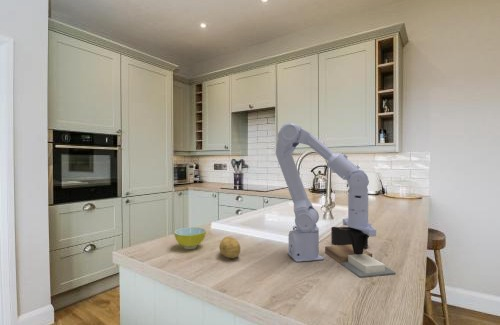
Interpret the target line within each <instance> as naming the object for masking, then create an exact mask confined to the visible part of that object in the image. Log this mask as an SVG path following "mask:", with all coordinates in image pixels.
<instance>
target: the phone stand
mask: <svg viewBox="0 0 500 325" xmlns="http://www.w3.org/2000/svg"><path fill="white" fill-rule="evenodd" d="M350 229H351V227H349V226H339V227H338V226H331V229H330V230H331V231H330V232H331V233H330V234H331V235H330V237H331V238H330V239H331V244H332V245H333V246H339V245H352V243H351V240H350V237H349V235H348V234H347V230H350ZM368 239H369V238H368ZM368 239H367V241H366V244H365V247H364V250H368V249H369V246H368V245H369V240H368Z"/></svg>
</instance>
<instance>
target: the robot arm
mask: <svg viewBox="0 0 500 325" xmlns="http://www.w3.org/2000/svg"><path fill="white" fill-rule="evenodd" d="M299 144H302V145H306V146H309V147H310V148H311V149H312V150H314V151H315V153H317V154H318V155H320V156H321V157H322V158H323V159H325V160H326V161H327V167H328V168H329V169H330V170H332V172H333V173H335V175H337V176H338V177H339V178H340V179H342V180H343V181H344V180H345V181H346V182H347V185H348V192H349V193H348V194H347V201H348V202H347V203H348V204H347V208H348V210H347V213H348V214H347V218H343V219H342V226H346V227H351V229H350V230H347V234H348V235H349V237H350V240H351V243H352V247H353V251H354V253H355V254H356V255H359V254H363V250H365V249H364V247H365V244H366V241H367V239H369V238H372V237H377V229H376V228H374V227H372V223H371V222H369V195H368V192H369V190H368V186H369V183H370V180H369V177H368V175H367V173H366V172H365V171H364V170H362V169H360V168H361V167H360V166H359V165H357V164H354V163H353V162H352V161H351V160H349V159H348V157H349V156H348V155H346V154H343V153H341V152H336V153H335V152H334V151H332V150H331V149H330V148H329V147H327V145H326V144H324V143H323V142H322V141H321V140H320V139H319V138H317V137H316V136H315V135H314V134H312V133H311V132H309V131H307V130H306V129H304V128H303V127H302V126H300V125H297V124H296V123H294V122H287V123H284V124H283V125H282V126H281V128H280V129H279V132H277V143H276V149H275V156H276V158H277V162H278V164H279V166H280V169H281V172H282V175H283V177H284V180H285V184H286V186H287V189H288V192H289V195H290V197H291V200H292V202H293V212H294V215H295V216H294V223H295V226H296V228H295V229H294V230H290V231H289V232H288V252H287V254H288V255H289V257H291V258H292V259H293V261H295V262H297V263H300V262H308V261H309V262H310V261H312V262H313V261H323V260H324V259H325V258H324V256H322V255H321V254H319V253H320V252H319V251H320V250H319V249H320V247H319V243H320V242H319V235H320V234H319V232H320V231H319V227H318V226H317V223H318V221H319V220H320V219H319V218H320V216H319V212H318V210H316V209H315V207H314V206H313V204H312V201H311V200H310V199H309V198H308V194H307V191H306V190H305V186H304V184H303V181H302V178H301V176H300V173H299V170H298V168H297V165H296V163H295V159H294V157H293V153H294V151H295V150H296V147H298V146H299Z"/></svg>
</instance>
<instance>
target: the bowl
mask: <svg viewBox="0 0 500 325" xmlns="http://www.w3.org/2000/svg"><path fill="white" fill-rule="evenodd" d="M173 234H174V237H175V240H176V242H177V243H178V244H179V245H181V246H182V247H183V249H185V250H188V251H189V250H195V249H196V248H197V247H198V246H199V245H200V244H201V243H202V242H203V241H204V239H205V237H206V234H207V230H206V229H205V228H203V227H197V226H195V227H193V226H192V227H191V226H189V227H181V228H177V229H176V230H174V233H173Z"/></svg>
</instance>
